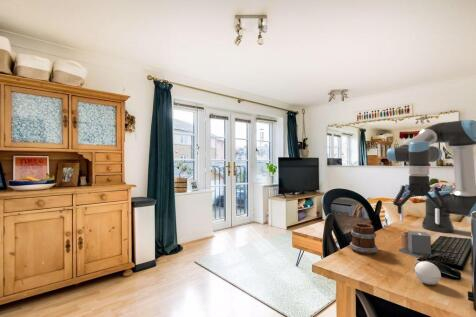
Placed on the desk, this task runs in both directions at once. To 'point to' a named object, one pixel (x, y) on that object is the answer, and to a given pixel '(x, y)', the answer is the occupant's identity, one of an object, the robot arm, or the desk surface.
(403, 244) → the bracket
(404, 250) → the shaft base
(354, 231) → the brown banded cylinder
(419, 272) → the white egg
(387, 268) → the desk surface
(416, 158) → the robot arm
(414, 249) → the squarish grey box
